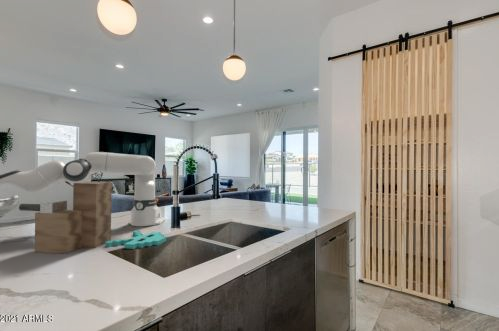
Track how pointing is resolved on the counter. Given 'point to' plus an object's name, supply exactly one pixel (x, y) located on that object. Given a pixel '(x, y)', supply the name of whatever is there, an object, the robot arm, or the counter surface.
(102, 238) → the step stand
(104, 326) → the counter surface
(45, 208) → the mallet
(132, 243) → the alien figure
